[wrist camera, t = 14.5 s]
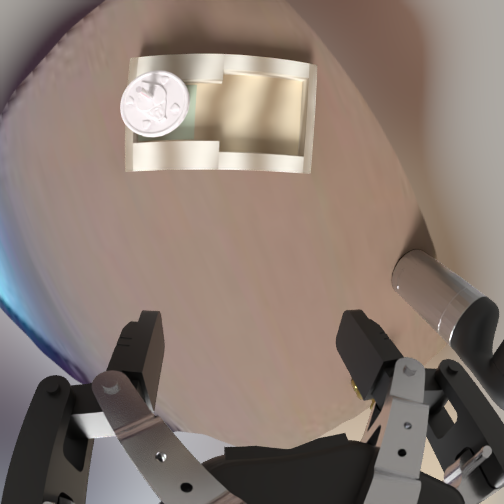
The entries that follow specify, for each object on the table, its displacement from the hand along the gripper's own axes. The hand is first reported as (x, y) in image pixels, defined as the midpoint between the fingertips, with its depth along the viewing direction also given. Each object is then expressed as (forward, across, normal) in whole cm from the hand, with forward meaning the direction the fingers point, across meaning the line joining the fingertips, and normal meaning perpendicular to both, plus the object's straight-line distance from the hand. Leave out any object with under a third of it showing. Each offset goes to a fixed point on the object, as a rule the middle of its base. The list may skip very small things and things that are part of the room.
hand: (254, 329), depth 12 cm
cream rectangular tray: (+26, +2, -11) cm, 29 cm away
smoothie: (+25, +8, -11) cm, 29 cm away
